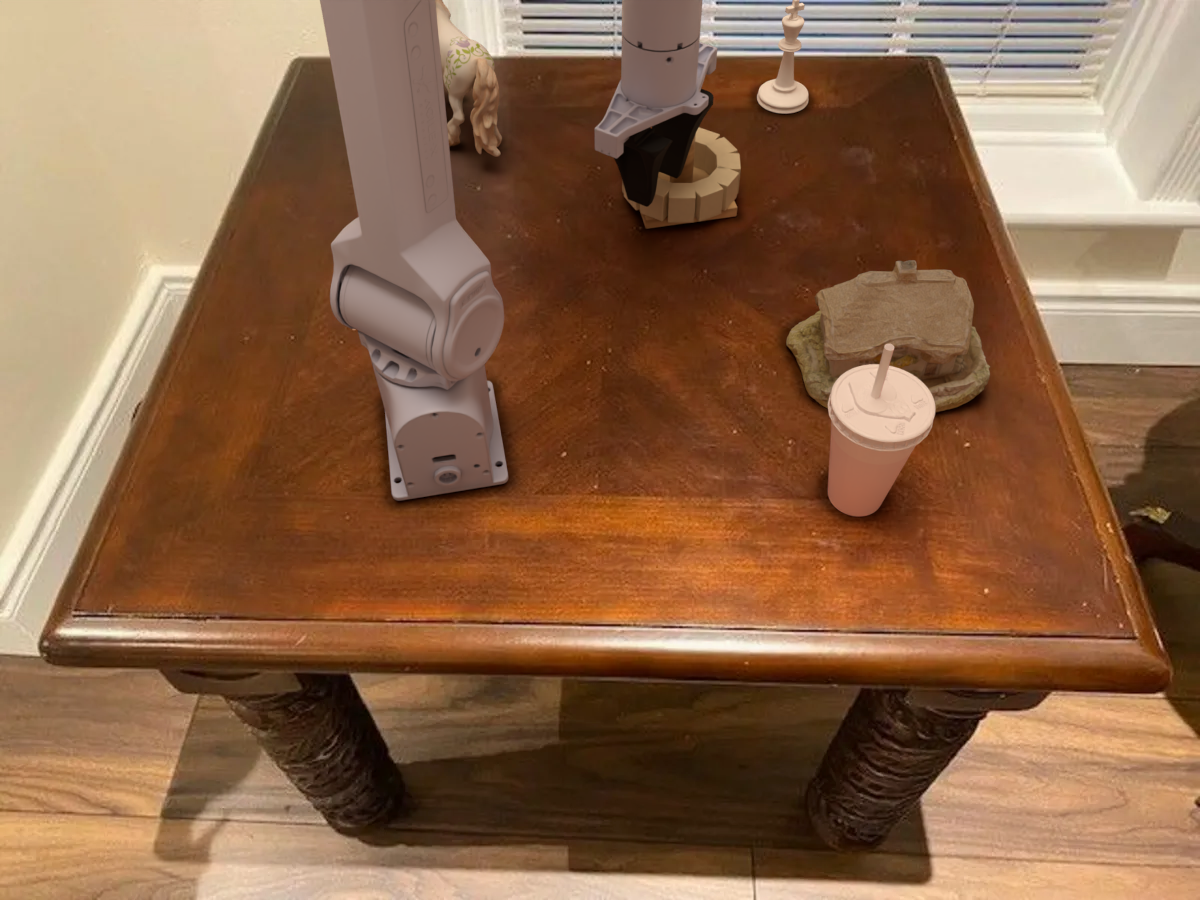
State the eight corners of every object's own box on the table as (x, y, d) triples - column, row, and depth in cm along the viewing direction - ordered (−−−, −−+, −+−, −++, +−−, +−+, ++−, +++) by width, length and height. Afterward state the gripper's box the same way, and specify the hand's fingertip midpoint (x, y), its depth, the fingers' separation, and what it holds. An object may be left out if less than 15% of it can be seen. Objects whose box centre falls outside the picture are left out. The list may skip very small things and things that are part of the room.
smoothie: (839, 442, 73) (877, 297, 62) (920, 488, 71) (975, 344, 60) (789, 500, 70) (820, 358, 59) (872, 550, 68) (920, 411, 57)
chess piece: (747, 92, 100) (758, -8, 92) (791, 79, 101) (805, -20, 94) (773, 119, 97) (786, 18, 90) (818, 105, 99) (835, 5, 91)
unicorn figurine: (409, 67, 104) (384, -67, 93) (549, 143, 96) (540, 4, 85) (353, 99, 101) (322, -37, 90) (494, 179, 92) (477, 41, 82)
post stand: (736, 216, 89) (743, 152, 84) (645, 229, 88) (647, 165, 83) (712, 161, 94) (718, 97, 88) (626, 172, 93) (626, 108, 88)
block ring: (754, 212, 87) (757, 187, 85) (637, 232, 86) (638, 207, 84) (718, 142, 94) (720, 117, 92) (609, 159, 92) (609, 134, 90)
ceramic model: (794, 421, 74) (814, 321, 67) (781, 311, 81) (798, 210, 74) (991, 423, 74) (1035, 323, 66) (962, 313, 81) (998, 211, 73)
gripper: (654, 94, 70) (648, 251, 80) (757, 4, 77) (739, 158, 88) (569, 63, 72) (574, 219, 83) (677, -21, 80) (669, 131, 90)
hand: (654, 186), depth 86 cm, fingers open, 4 cm apart
